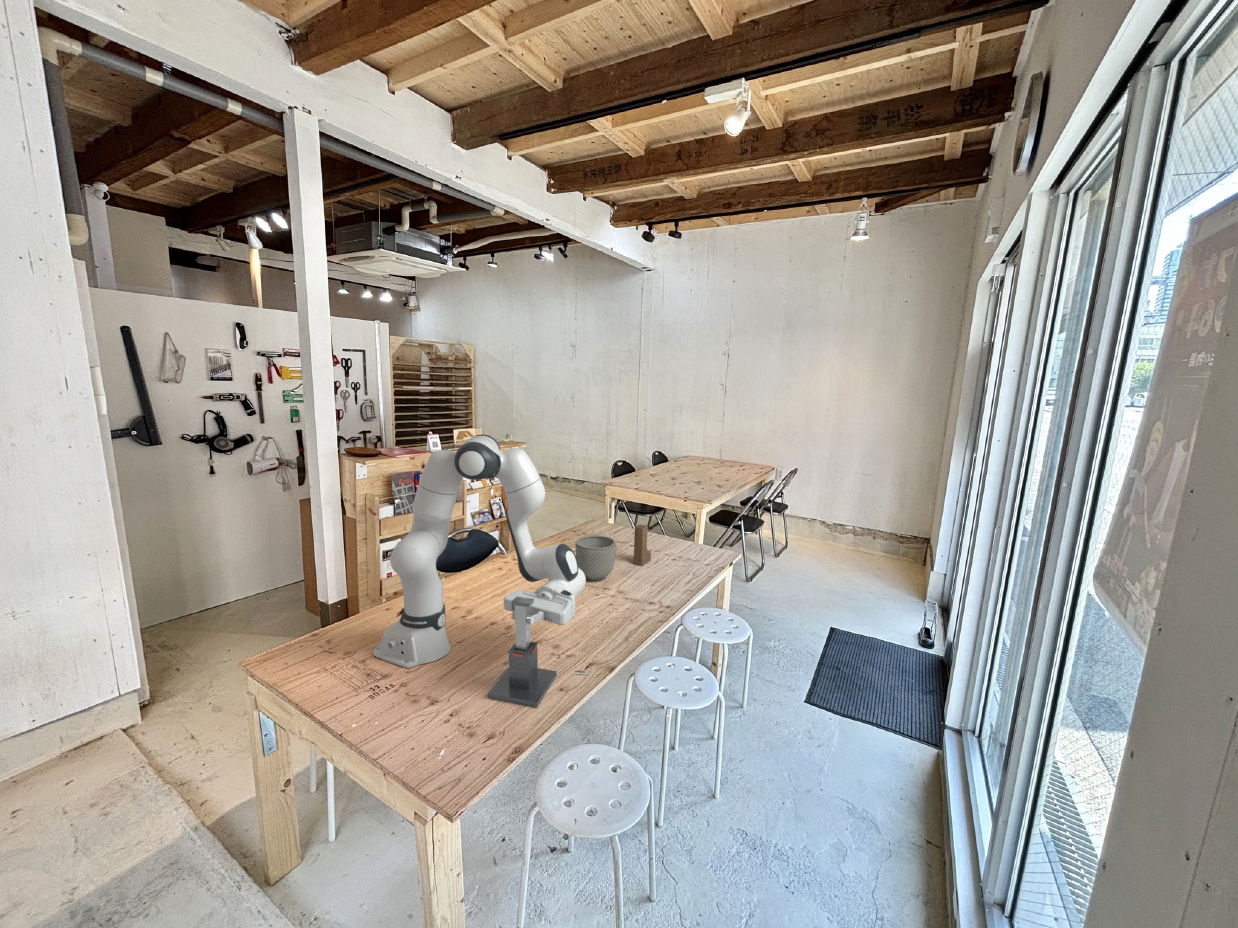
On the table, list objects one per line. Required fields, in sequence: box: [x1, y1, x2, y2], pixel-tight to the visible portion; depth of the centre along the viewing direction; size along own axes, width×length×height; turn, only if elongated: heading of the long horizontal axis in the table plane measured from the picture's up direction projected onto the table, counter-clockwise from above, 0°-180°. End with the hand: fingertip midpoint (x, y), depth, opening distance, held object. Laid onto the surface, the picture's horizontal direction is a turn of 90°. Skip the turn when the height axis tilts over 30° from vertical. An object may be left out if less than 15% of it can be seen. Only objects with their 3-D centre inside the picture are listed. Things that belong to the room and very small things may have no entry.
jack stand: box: [487, 641, 558, 708], centre depth 134 cm, size 14×14×12 cm
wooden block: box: [633, 524, 652, 567], centre depth 226 cm, size 9×4×18 cm, turn 149°
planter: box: [574, 534, 617, 582], centre depth 208 cm, size 17×17×16 cm
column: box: [512, 597, 534, 652], centre depth 133 cm, size 5×3×20 cm, turn 76°
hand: (520, 619), depth 131 cm, fingers closed on column, 3 cm apart
